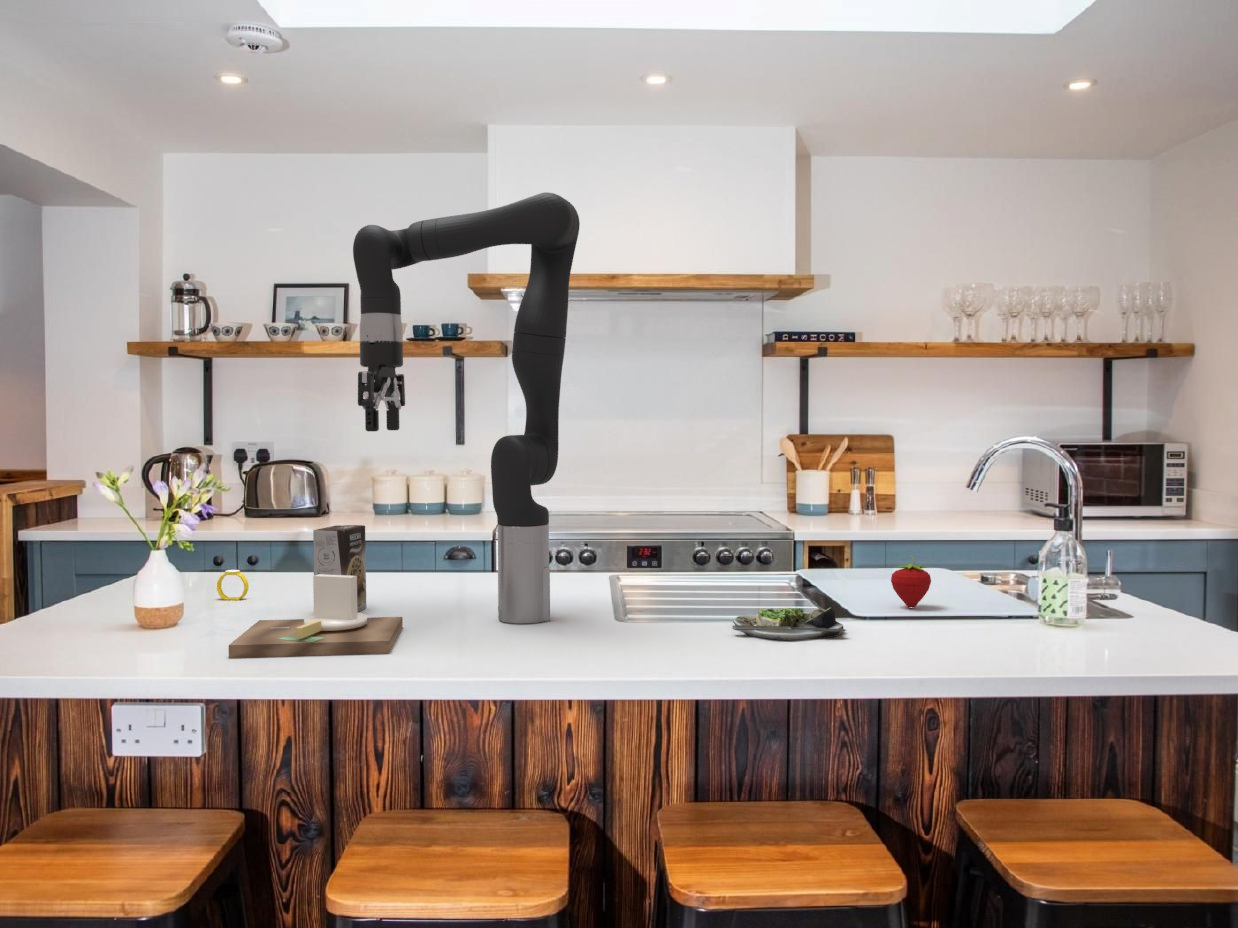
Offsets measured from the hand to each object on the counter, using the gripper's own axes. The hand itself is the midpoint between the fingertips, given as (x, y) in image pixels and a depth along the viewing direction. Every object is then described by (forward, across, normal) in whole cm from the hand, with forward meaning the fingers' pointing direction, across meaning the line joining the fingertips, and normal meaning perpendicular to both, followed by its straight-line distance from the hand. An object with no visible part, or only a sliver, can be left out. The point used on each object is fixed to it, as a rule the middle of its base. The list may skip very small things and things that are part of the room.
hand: (382, 430), depth 176 cm
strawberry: (+34, -27, +94) cm, 104 cm away
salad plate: (+35, -4, +73) cm, 81 cm away
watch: (+34, -11, -38) cm, 52 cm away
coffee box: (+34, -3, -10) cm, 36 cm away
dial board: (+34, +20, -2) cm, 39 cm away
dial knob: (+32, +20, -1) cm, 37 cm away
